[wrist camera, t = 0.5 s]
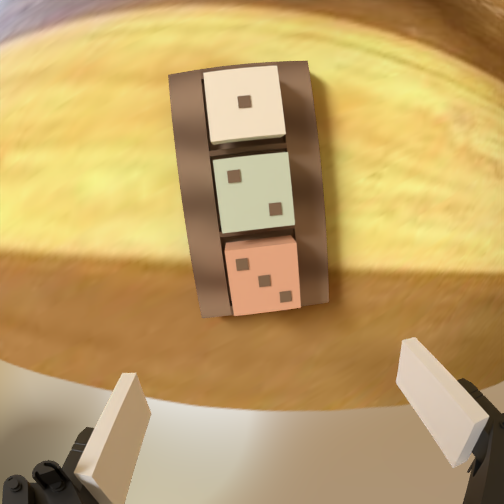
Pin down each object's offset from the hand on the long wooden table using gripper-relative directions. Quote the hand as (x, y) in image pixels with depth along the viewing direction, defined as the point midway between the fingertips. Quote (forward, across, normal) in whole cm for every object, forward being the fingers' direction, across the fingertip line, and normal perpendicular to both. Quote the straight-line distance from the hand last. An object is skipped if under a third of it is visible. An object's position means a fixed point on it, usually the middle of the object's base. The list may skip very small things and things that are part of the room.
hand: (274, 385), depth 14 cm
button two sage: (+16, +1, +8) cm, 18 cm away
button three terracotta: (+17, +1, +1) cm, 17 cm away
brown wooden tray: (+19, +1, +8) cm, 21 cm away
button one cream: (+16, +1, +16) cm, 23 cm away
